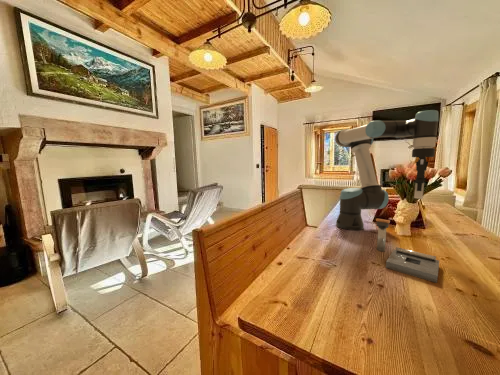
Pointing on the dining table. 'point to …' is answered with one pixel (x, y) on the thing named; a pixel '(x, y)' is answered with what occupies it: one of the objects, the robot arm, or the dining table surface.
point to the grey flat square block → (414, 264)
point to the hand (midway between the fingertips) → (418, 196)
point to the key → (381, 233)
